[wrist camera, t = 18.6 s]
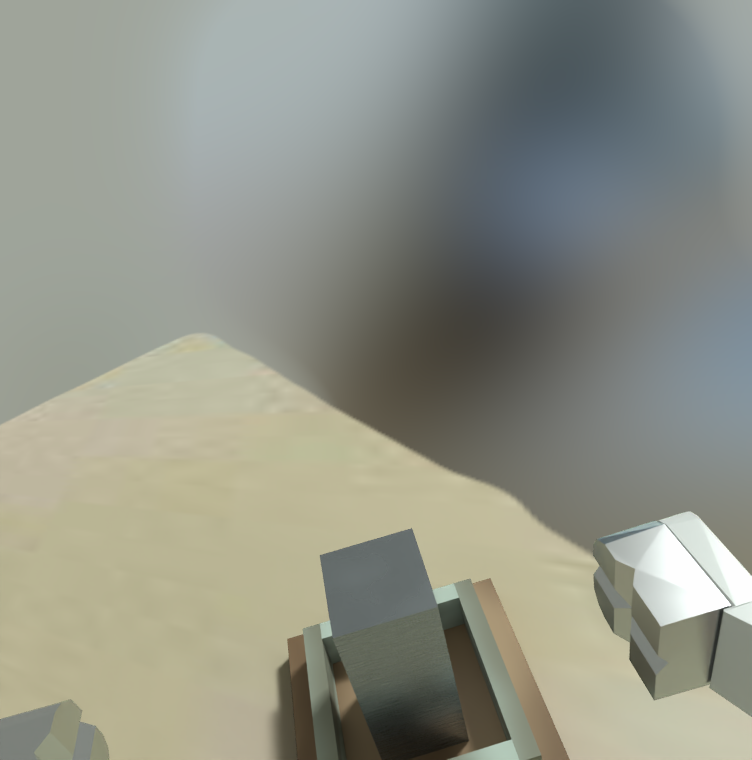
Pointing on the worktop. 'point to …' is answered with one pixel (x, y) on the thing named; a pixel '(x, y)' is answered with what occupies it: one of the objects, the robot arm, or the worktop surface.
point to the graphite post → (393, 645)
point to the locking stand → (472, 676)
